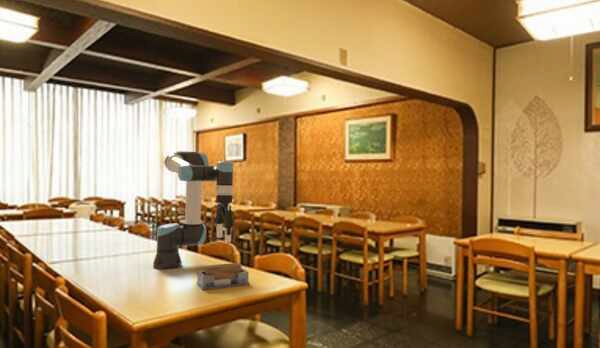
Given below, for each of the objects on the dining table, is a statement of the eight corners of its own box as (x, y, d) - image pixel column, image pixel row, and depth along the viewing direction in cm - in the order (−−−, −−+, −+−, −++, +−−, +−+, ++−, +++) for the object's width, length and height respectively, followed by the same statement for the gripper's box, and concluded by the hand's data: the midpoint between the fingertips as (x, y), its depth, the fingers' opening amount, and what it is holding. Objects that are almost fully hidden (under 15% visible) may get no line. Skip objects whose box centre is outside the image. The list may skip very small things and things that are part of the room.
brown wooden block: (204, 278, 186) (204, 265, 186) (238, 275, 192) (238, 262, 192) (206, 280, 181) (206, 267, 181) (240, 277, 187) (241, 265, 187)
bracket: (196, 284, 186) (196, 271, 186) (241, 279, 196) (241, 267, 196) (202, 290, 176) (202, 276, 176) (249, 284, 187) (249, 271, 187)
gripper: (209, 193, 196) (208, 236, 196) (224, 196, 174) (223, 244, 174) (224, 193, 199) (223, 235, 199) (240, 195, 177) (239, 243, 177)
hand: (223, 239), depth 187 cm, fingers open, 13 cm apart
